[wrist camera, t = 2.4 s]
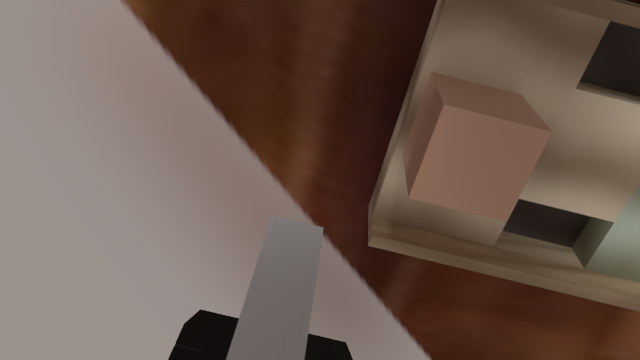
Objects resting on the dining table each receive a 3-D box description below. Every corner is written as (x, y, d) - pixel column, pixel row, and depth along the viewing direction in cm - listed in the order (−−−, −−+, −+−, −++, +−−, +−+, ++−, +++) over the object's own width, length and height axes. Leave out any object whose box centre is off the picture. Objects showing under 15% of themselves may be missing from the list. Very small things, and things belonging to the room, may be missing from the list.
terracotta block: (431, 71, 26) (443, 104, 21) (521, 94, 26) (552, 131, 21) (402, 153, 28) (408, 197, 24) (485, 174, 28) (505, 222, 24)
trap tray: (452, -46, 25) (471, -36, 20) (813, 50, 26) (915, 81, 21) (368, 206, 33) (368, 256, 28) (646, 274, 34) (693, 334, 29)
